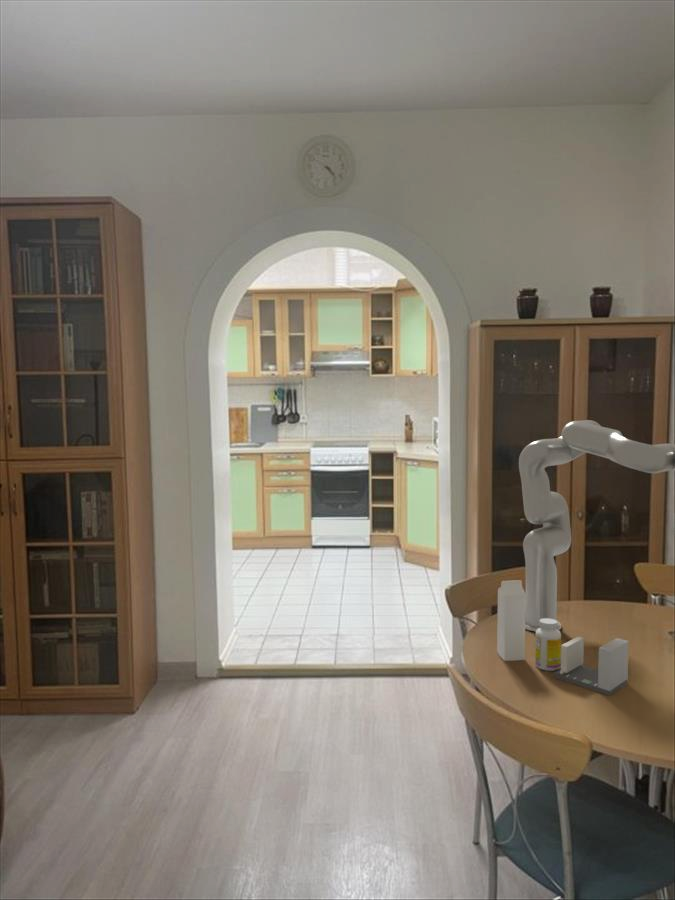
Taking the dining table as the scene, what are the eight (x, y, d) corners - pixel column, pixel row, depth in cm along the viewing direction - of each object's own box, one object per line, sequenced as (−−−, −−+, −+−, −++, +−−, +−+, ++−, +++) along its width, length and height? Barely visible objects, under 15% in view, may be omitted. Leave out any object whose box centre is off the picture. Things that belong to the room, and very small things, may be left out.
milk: (497, 653, 191) (497, 578, 190) (517, 652, 192) (517, 577, 190) (504, 661, 185) (504, 583, 184) (525, 660, 186) (525, 582, 184)
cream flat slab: (557, 672, 173) (558, 646, 172) (577, 661, 180) (578, 636, 179) (563, 674, 171) (564, 648, 171) (583, 663, 179) (583, 637, 178)
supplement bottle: (565, 666, 181) (565, 620, 180) (554, 674, 177) (555, 627, 176) (542, 660, 186) (542, 615, 185) (530, 667, 181) (531, 621, 180)
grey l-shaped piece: (553, 677, 175) (554, 635, 174) (572, 666, 181) (573, 626, 181) (609, 695, 164) (610, 651, 163) (627, 683, 170) (628, 641, 170)
